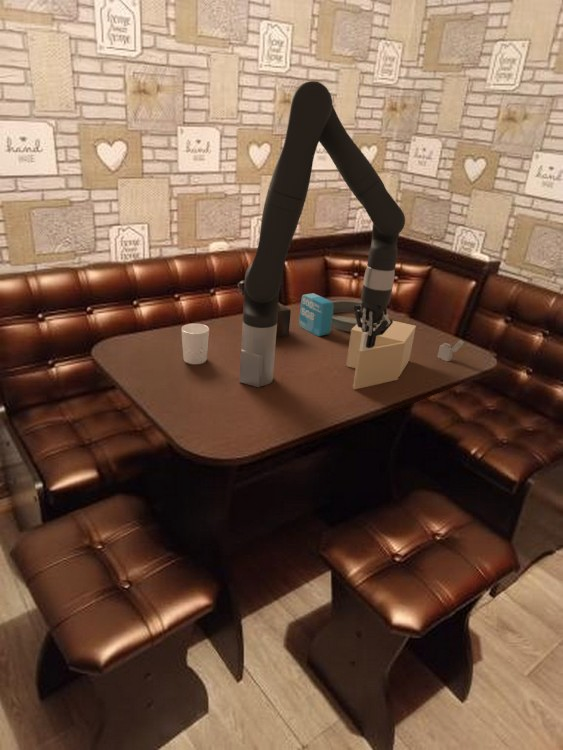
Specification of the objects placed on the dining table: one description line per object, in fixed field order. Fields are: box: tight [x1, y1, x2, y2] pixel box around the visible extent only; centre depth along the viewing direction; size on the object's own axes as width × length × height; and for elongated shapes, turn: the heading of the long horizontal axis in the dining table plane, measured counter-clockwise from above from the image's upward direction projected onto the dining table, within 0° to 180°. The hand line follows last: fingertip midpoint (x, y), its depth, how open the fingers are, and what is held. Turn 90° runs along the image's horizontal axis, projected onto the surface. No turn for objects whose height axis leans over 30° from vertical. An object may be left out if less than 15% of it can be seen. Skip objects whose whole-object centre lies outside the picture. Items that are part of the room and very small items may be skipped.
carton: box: [345, 318, 417, 377], centre depth 165 cm, size 15×16×12 cm
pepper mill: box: [237, 279, 292, 339], centre depth 178 cm, size 16×11×18 cm
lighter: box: [437, 339, 465, 362], centre depth 172 cm, size 7×2×8 cm, turn 43°
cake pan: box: [331, 300, 390, 333], centre depth 198 cm, size 25×25×4 cm
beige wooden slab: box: [352, 331, 405, 390], centre depth 151 cm, size 1×16×17 cm, turn 120°
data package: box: [298, 292, 334, 337], centre depth 186 cm, size 12×4×12 cm, turn 37°
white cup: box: [181, 323, 210, 365], centre depth 158 cm, size 8×8×10 cm
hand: (367, 345), depth 146 cm, fingers closed
